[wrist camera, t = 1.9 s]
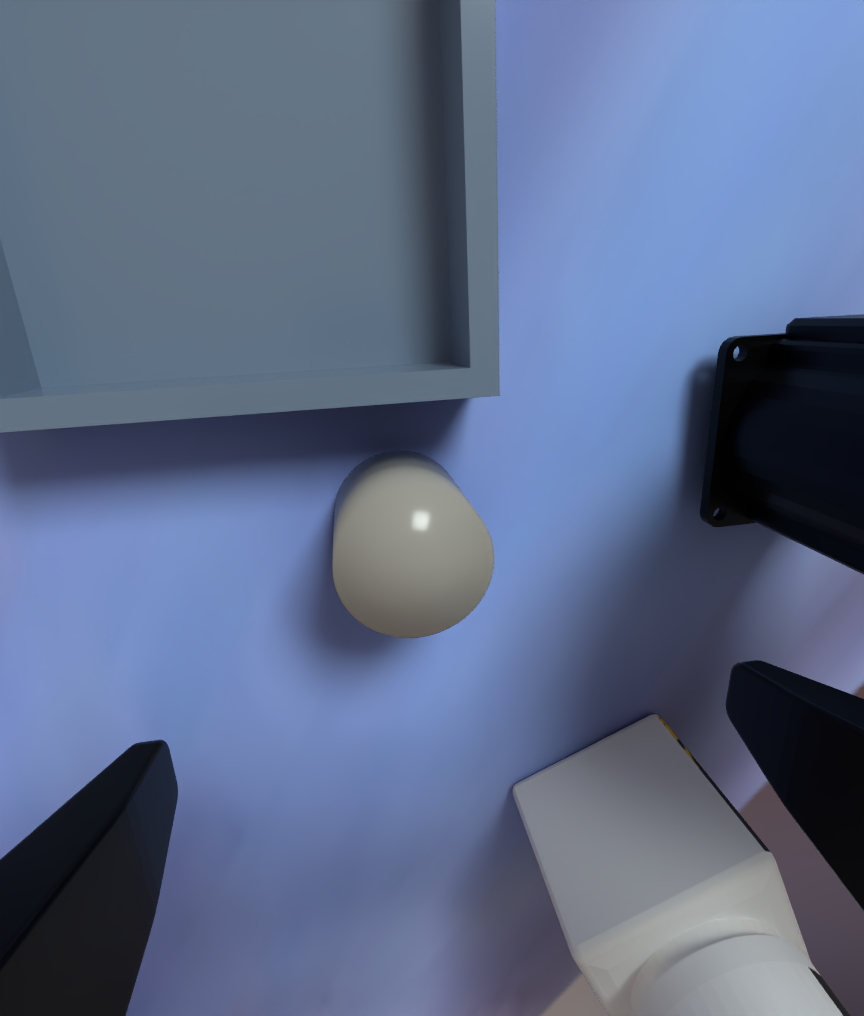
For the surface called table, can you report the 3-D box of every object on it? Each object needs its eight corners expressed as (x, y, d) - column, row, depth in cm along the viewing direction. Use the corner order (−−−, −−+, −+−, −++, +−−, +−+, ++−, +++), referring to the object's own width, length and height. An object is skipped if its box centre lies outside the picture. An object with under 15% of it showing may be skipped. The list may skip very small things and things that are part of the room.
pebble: (462, 563, 20) (495, 627, 16) (341, 577, 20) (341, 647, 15) (458, 445, 19) (492, 480, 15) (327, 456, 18) (323, 496, 14)
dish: (474, 384, 18) (499, 395, 15) (24, 415, 16) (-41, 435, 14) (460, -175, 14) (492, -304, 11) (-159, -216, 12) (-312, -380, 9)
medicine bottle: (699, 813, 26) (967, 1181, 15) (564, 881, 26) (732, 1298, 15) (655, 707, 24) (938, 1053, 13) (507, 782, 24) (656, 1194, 13)
